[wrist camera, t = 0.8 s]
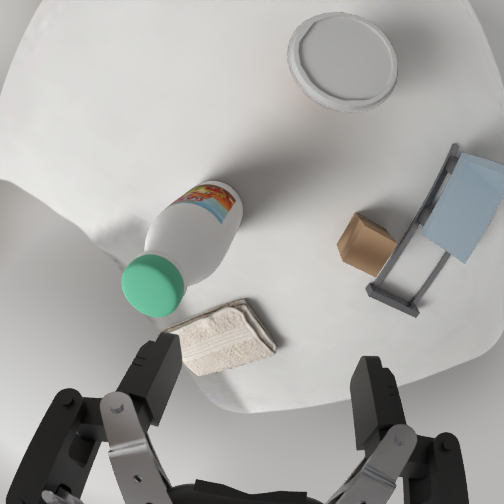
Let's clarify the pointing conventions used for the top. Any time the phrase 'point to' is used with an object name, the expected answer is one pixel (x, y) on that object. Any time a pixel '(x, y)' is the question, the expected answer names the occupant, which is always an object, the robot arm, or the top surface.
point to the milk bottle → (183, 247)
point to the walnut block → (365, 245)
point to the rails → (382, 294)
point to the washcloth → (223, 338)
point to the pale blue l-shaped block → (464, 205)
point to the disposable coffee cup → (342, 62)
